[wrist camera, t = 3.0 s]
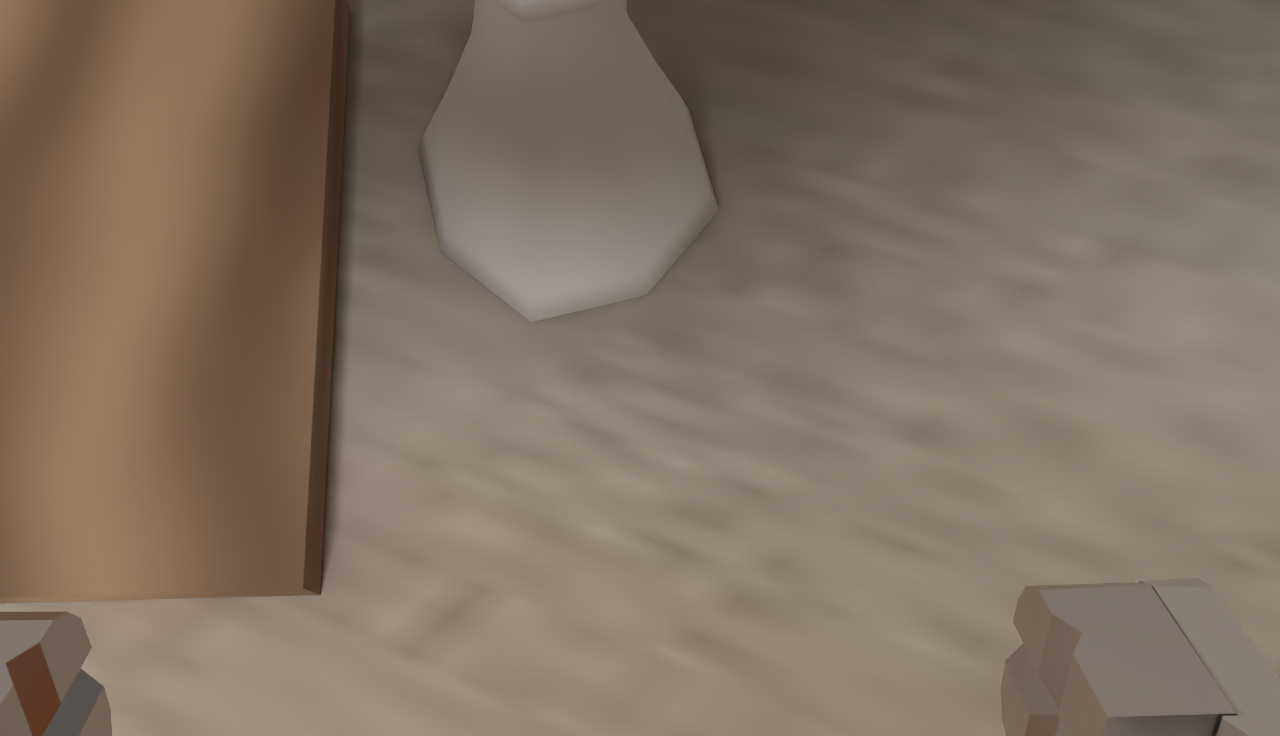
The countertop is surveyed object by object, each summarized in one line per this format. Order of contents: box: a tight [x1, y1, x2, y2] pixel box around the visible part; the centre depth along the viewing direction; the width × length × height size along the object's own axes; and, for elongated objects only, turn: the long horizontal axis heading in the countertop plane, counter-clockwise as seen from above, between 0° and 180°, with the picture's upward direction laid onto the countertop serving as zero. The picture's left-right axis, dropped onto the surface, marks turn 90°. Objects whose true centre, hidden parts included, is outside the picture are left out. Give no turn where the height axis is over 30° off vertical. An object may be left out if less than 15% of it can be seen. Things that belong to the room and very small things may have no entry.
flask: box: [418, 0, 719, 322], centre depth 24 cm, size 7×7×10 cm
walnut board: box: [0, 0, 350, 603], centre depth 26 cm, size 14×15×2 cm
